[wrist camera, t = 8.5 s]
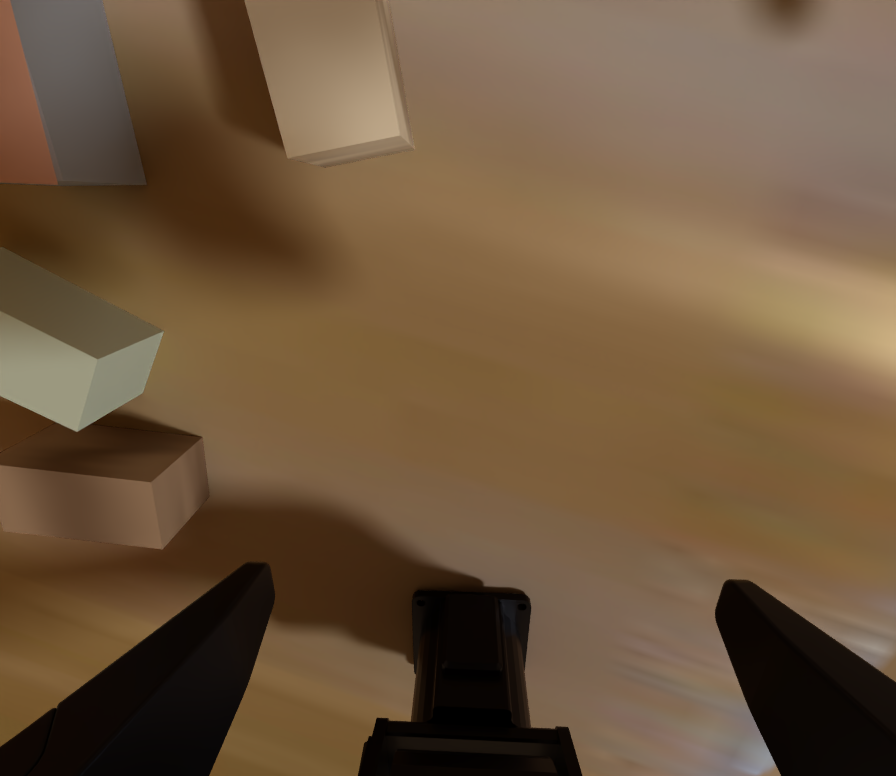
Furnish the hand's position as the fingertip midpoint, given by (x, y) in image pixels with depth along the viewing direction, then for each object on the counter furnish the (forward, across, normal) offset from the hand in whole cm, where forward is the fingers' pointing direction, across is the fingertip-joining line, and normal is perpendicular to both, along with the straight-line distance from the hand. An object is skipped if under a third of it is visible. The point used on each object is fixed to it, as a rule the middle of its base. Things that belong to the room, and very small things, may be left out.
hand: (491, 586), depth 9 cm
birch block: (+12, +5, -12) cm, 18 cm away
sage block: (+12, +18, -2) cm, 22 cm away
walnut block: (+12, +17, +5) cm, 22 cm away
